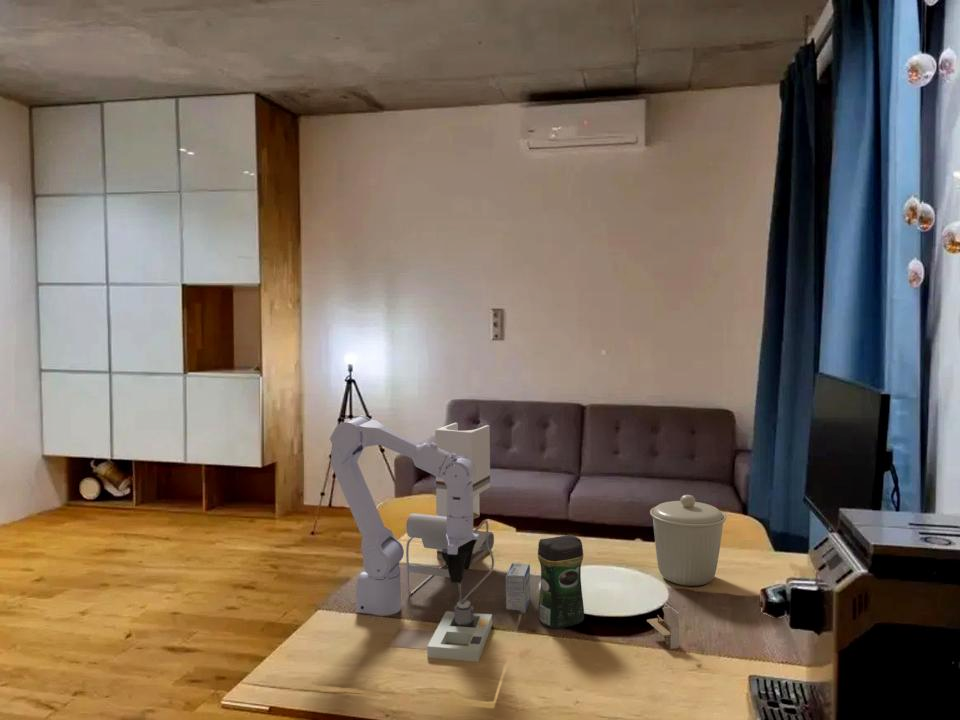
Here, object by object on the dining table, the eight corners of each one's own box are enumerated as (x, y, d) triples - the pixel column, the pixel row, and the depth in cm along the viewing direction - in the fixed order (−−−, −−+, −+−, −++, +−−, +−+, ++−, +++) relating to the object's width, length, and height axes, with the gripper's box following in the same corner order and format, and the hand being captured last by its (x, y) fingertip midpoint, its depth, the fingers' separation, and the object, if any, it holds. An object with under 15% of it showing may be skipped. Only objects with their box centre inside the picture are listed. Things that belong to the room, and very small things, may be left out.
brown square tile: (387, 650, 147) (387, 646, 147) (399, 632, 154) (399, 628, 154) (426, 653, 145) (426, 649, 145) (436, 634, 153) (436, 631, 153)
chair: (406, 598, 172) (404, 516, 170) (447, 562, 195) (446, 489, 193) (459, 606, 167) (458, 522, 165) (495, 568, 190) (495, 494, 189)
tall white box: (472, 563, 193) (471, 432, 190) (437, 558, 198) (435, 429, 195) (490, 550, 204) (489, 425, 201) (456, 544, 208) (454, 422, 205)
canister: (696, 561, 194) (697, 483, 192) (740, 587, 177) (742, 501, 175) (635, 570, 188) (636, 489, 186) (675, 597, 171) (677, 508, 169)
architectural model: (664, 652, 146) (664, 616, 145) (646, 636, 153) (647, 602, 152) (679, 649, 147) (679, 613, 146) (661, 634, 153) (661, 600, 153)
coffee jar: (570, 609, 165) (571, 528, 163) (589, 624, 157) (589, 539, 156) (532, 617, 161) (532, 534, 159) (549, 632, 154) (549, 546, 152)
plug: (453, 639, 151) (453, 606, 150) (454, 630, 155) (454, 598, 154) (473, 639, 151) (473, 606, 150) (473, 630, 155) (473, 598, 154)
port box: (427, 661, 142) (427, 646, 142) (446, 624, 158) (446, 610, 157) (478, 665, 140) (478, 650, 140) (492, 628, 156) (492, 614, 156)
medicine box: (525, 614, 163) (525, 576, 162) (505, 612, 164) (505, 575, 163) (530, 599, 170) (530, 563, 170) (511, 598, 171) (511, 562, 170)
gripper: (470, 525, 150) (471, 590, 152) (484, 505, 165) (484, 564, 166) (437, 523, 152) (438, 587, 153) (454, 504, 166) (454, 562, 167)
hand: (460, 575), depth 159 cm, fingers open, 7 cm apart
